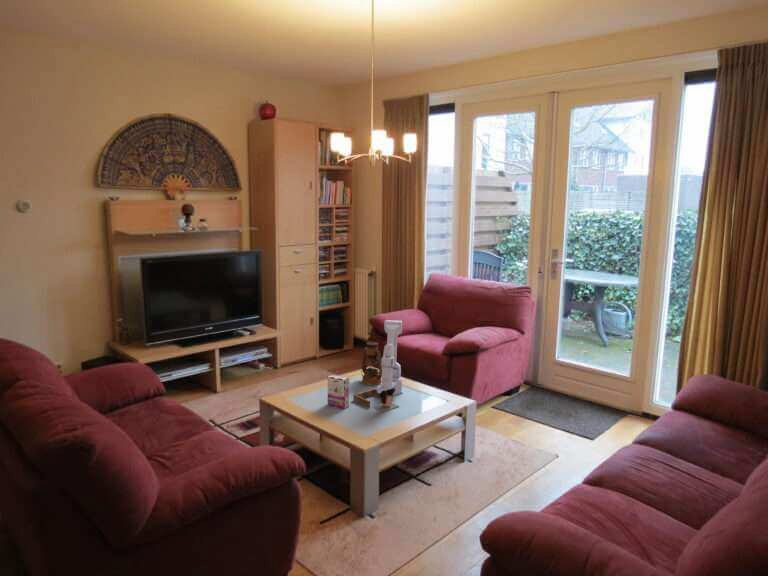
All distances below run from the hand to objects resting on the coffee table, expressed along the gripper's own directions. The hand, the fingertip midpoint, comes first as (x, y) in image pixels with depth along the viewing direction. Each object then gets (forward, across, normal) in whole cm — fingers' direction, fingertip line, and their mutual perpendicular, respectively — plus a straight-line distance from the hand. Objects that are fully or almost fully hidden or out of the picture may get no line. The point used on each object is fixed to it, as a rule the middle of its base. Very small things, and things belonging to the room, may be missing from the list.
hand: (386, 402), depth 295 cm
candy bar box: (+3, +16, -21) cm, 26 cm away
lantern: (+3, -26, -31) cm, 40 cm away
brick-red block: (+2, 0, 0) cm, 2 cm away
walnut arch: (+3, -2, -12) cm, 12 cm away
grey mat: (+3, 0, 0) cm, 3 cm away
